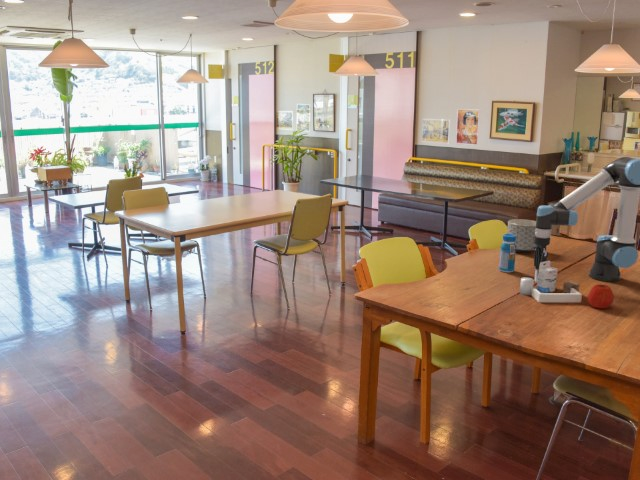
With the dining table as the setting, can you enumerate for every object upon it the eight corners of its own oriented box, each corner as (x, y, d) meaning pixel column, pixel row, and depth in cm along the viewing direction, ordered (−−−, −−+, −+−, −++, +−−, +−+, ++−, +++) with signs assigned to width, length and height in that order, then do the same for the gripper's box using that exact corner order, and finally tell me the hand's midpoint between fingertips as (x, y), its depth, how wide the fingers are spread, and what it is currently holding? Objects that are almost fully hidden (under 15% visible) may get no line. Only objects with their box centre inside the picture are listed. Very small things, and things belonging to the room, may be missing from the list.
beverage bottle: (497, 271, 332) (500, 236, 327) (499, 267, 339) (502, 232, 334) (513, 273, 329) (517, 237, 324) (515, 269, 336) (518, 234, 331)
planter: (500, 247, 385) (503, 219, 380) (529, 247, 387) (532, 219, 382) (513, 255, 366) (516, 225, 362) (543, 254, 368) (546, 225, 364)
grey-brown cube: (571, 291, 301) (572, 281, 300) (578, 294, 296) (579, 284, 295) (562, 292, 299) (563, 282, 298) (569, 295, 295) (570, 285, 293)
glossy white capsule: (529, 291, 300) (531, 277, 298) (534, 295, 294) (535, 281, 292) (517, 290, 300) (519, 277, 298) (522, 294, 294) (523, 281, 292)
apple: (610, 312, 272) (613, 289, 270) (584, 307, 278) (587, 285, 275) (613, 305, 281) (616, 283, 279) (588, 301, 287) (591, 279, 284)
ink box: (544, 293, 296) (547, 264, 292) (536, 291, 300) (539, 262, 296) (555, 291, 300) (558, 262, 297) (547, 288, 304) (550, 260, 301)
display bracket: (572, 296, 293) (573, 288, 292) (580, 302, 284) (581, 294, 283) (531, 295, 293) (532, 287, 292) (538, 302, 284) (539, 294, 283)
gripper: (530, 233, 311) (525, 277, 317) (540, 239, 298) (535, 285, 304) (544, 233, 311) (539, 277, 317) (555, 239, 299) (549, 285, 304)
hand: (537, 281), depth 310 cm, fingers closed
